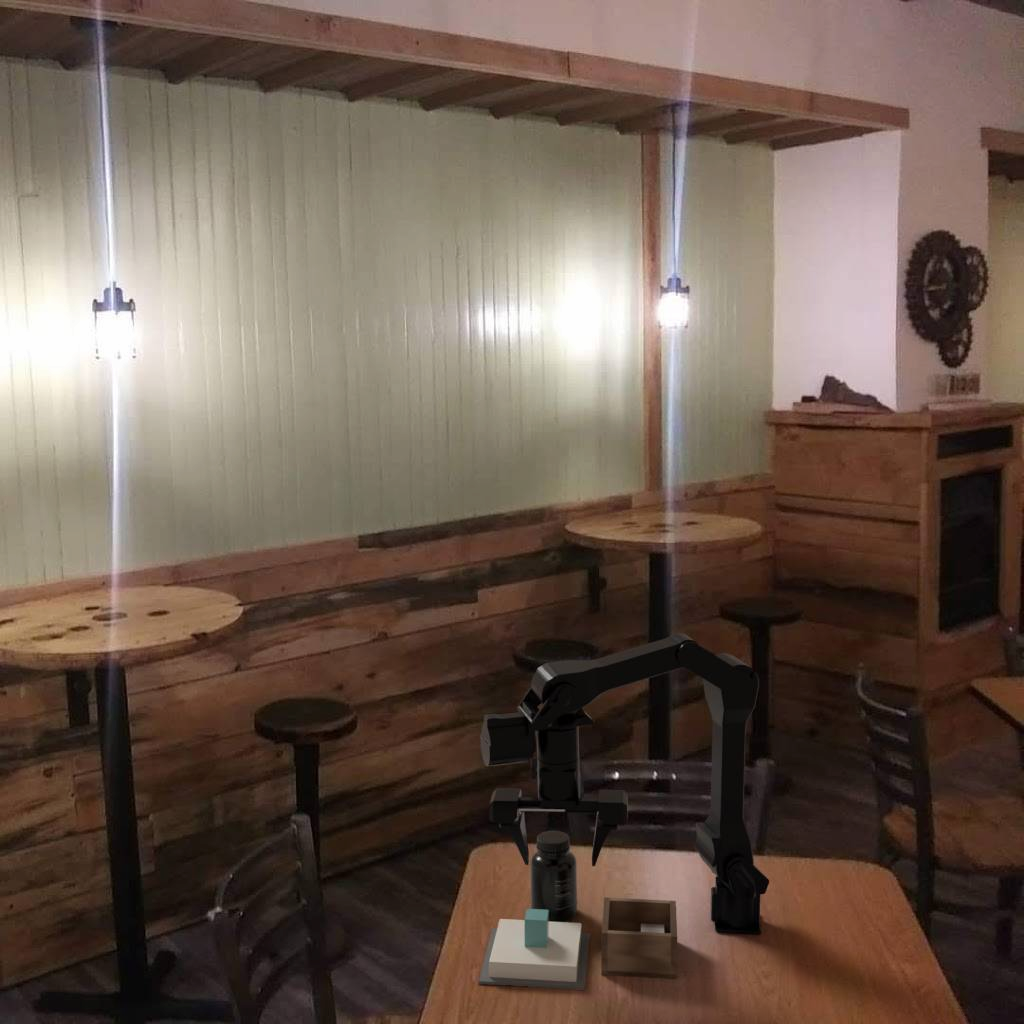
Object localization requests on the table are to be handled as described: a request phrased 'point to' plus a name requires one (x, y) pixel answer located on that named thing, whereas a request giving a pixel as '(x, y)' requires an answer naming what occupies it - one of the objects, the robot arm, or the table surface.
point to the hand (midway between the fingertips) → (560, 864)
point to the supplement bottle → (554, 877)
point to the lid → (536, 948)
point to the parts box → (639, 938)
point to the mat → (538, 983)
